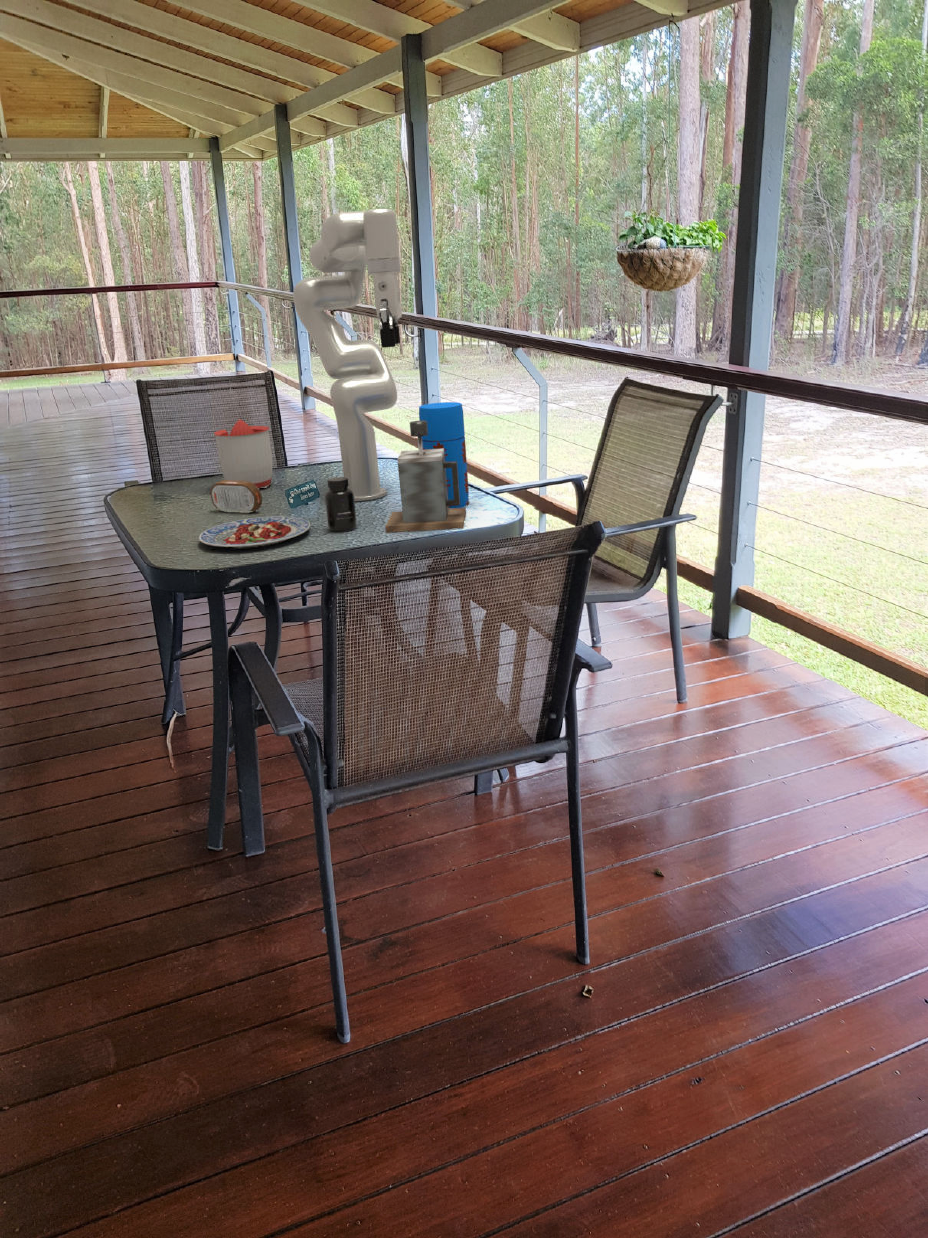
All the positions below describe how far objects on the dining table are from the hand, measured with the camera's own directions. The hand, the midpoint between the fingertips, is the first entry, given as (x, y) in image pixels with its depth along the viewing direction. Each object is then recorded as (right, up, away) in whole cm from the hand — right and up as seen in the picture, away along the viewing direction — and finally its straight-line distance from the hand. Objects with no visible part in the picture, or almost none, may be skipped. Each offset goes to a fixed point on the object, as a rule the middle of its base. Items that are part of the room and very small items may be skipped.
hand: (391, 345), depth 225 cm
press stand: (+8, -41, +3) cm, 42 cm away
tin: (-42, -36, +28) cm, 63 cm away
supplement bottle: (-12, -43, +4) cm, 44 cm away
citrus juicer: (-46, -26, +58) cm, 78 cm away
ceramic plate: (-32, -45, +1) cm, 55 cm away
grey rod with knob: (+8, -38, +2) cm, 39 cm away
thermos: (+13, -35, +19) cm, 42 cm away
